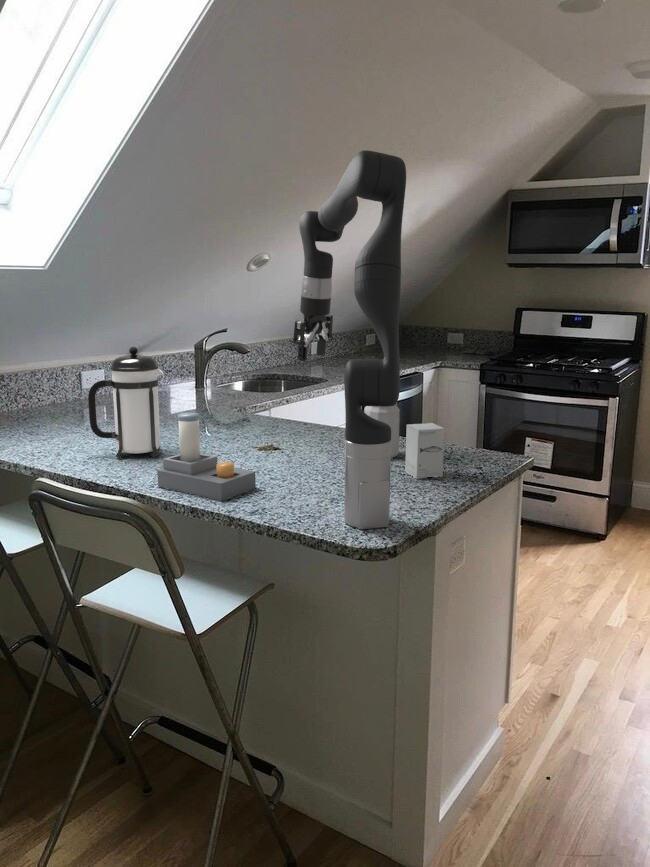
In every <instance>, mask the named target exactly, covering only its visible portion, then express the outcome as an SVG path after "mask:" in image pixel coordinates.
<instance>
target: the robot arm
mask: <svg viewBox="0 0 650 867" xmlns="http://www.w3.org/2000/svg"><path fill="white" fill-rule="evenodd" d="M406 166H407V165H406V164H405V161H404V159H403V158H402V157H399V156H396V155H393V154H387V153H383V152H378V151H374V150H364V149H363V150H360V151H359V152H358V153H357V154H355V156H354V157H353V158H352V159H351V160H350V162H349V163H348V165H347V168H346V170H345V171H344V173H343V175H342V177H341V179H340V180H339V182H338V185H337V186H336V188H335V190H334V191H333V193H332V194H331V195H330V196H329V197H328V198H327V199H326V200H325V201H324V202H323V204H322V205H320V207H319V209H318V211H315V210H308V211H305V212H304V213H303V214H302V216H301V217H300V220H299V232H300V233H299V235H300V238H301V242H302V248H303V255H304V256H303V257H304V258H303V259H304V260H303V261H304V262H303V264H304V265H303V268H304V269H303V278H302V282H301V294H300V305H299V307H300V309H299V311H300V313H301V314H302V315H303V317H302V318H303V319H302V320H299V319H296V320H295V321H294V326H293V327H294V330H293V340H292V344H294V345H296V346H297V347H298V348H297V349H298V350H297V359H298V361H301V362H306V361H307V360H308V345H309V343H310V341H311V340H312V339H313V338H314V336H316V337H317V340H316V341H317V342H316V355H319V356H325V354H326V346H327V341H328V340H329V338H330V339H331V338H332V337H333V324H334V323H333V321H334V315H332V314H330V313H331V306H332V304H331V302H332V292H333V283H332V282H333V279H332V277H333V266H334V257H333V255H332V254H331V253H330V252H327V251H323V250H319V248H317V245H316V244H317V242H320V243H321V242H323V243H334V242H337V241H339V240H340V239H341V238H342V235H343V233H344V229H345V226H346V225H348V224H349V223H350V222H351V221H352V220H353V219H354V218H355V216H356V214H357V212H358V210H359V209H358V208H359V201H358V198H360V199H363V200H369V201H374V202H378V203H381V205H382V210H381V217H380V220H379V223H378V225H377V227H376V229H375V230H374V232H373V233H372V235H371V236H370V237H369V239H368V240H367V242H366V243H364V244H365V245H363V247H362V249H361V250H360V252H359V253H358V255H357V257H356V261H355V264H354V280H353V281H354V282H353V284H354V288H353V289H354V293H353V294H354V296H355V299H356V301H357V304H358V306H359V308H360V309H361V311H362V313H363V314H364V316H365V317H366V319H367V320H368V322H369V324H370V325H371V327H372V328H373V329H374V332H375V334H376V336H377V338H378V341H379V343H380V346H381V348H382V352H383V358H382V359H378V358H375V359H374V358H369V359H368V358H367V359H366V358H365V359H364V358H358V359H357V358H355V359H354V358H353V359H349V360H348V361H347V363H346V365H345V368H344V375H343V376H344V377H343V385H344V386H343V387H344V390H343V391H344V403H345V404H344V405H345V406H344V408H345V425H344V427H345V432H344V433H345V434H344V519H343V520H344V522H345V524H347V525H348V526H350V527H354V528H356V529H358V530H367V529H368V530H369V529H378V528H379V529H380V528H388V527H389V523H390V521H391V520H390V519H391V518H390V512H391V511H390V510H391V505H390V504H391V502H390V500H391V469H392V468H391V466H392V464H391V463H392V462H391V460H392V459H391V427H390V426H389V425H388V424H386V423H384V422H381V421H379V420H376V419H374V418H372V417H370V416H368V415H367V414H366V413H364V410H363V409H362V407H366V406H394V405H395V404H396V403H397V404H398V401H399V397H400V391H401V366H400V365H401V364H400V340H399V339H400V336H399V334H400V332H399V326H400V324H399V322H400V304H401V289H402V288H401V286H402V285H401V279H402V273H401V272H402V229H403V227H402V226H403V218H404V217H403V216H404V208H405V206H404V205H405V198H406V196H405V195H406V188H407V187H406V186H407V169H406V168H407V167H406Z"/></svg>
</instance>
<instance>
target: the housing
mask: <svg viewBox="0 0 650 867" xmlns="http://www.w3.org/2000/svg"><path fill="white" fill-rule="evenodd" d="M200 459H201V460H199V461H195V462H192V463H189V462H183V461H180V453H178V454H175V455H173V456H168V457H166V458H163V459H162V464H163V465H162V466H163V468H161V469H157V470H156V471H157V472H156V473H157V486H160V488H163V487H164V489H167V488H168V490H171V489H172V491H176V490H177V491H176V492H180V491H182V492H181V493H185V492H187V493H186V494H189V493H191V494H190V495H193V494H195V495H194V496H198V495H199V496H198V497H202V496H204V497H203V498H207V497H208V499H211V498H212V499H211V500H217V501H220V502H222V500H223V501H225V500H227V499H230V498H233V497H236V496H239V495H242V494H244V493H247V492H250V491H252V490H254V489H256V487H257V486H256V485H257V484H256V483H257V482H256V471H253V470H248V469H245V468H238V467H234V477H231V478H228V479H224V478H219V477H217V468H216V464H218V456H217V455H211V454H205V453H201V452H200Z"/></svg>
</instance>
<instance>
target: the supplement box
mask: <svg viewBox="0 0 650 867" xmlns="http://www.w3.org/2000/svg"><path fill="white" fill-rule="evenodd" d="M405 438H406V439H405V440H406V441H405V464H404V466H405V467H404V468H405V469H404V470H405V471H404V472H405V473H406V474H407V475H409V476H410V475H411V476H410V477H412V476H413V477H412V478H413V479H415V478H416V479H415V480H419V479H428V478H427V477H433V478H436V477H435V476H442V477H444V476H443V473H444V454H445V453H444V451H445V450H444V448H445V428H444V427H442V426H440V425H438V424H436V423H433V422H429V423H412V424H411V423H409V424H406V436H405Z"/></svg>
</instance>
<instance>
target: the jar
mask: <svg viewBox="0 0 650 867" xmlns="http://www.w3.org/2000/svg"><path fill="white" fill-rule="evenodd" d="M400 411H401V410H400V408H399V407H398V402H397V403H396V404H395V405H394V406H364V410H363V412H364V413H366V414H367V415H368V416H370V417H372V418H374V419H376V420H379V421H381V422H384V423H386V424H388V425H389V426H390V427H391V458H392V459H394V458H396V457H397V456H398V454H399V447H400V446H399V445H400V444H399V443H400ZM395 456H396V457H395ZM393 457H394V458H393Z"/></svg>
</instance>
